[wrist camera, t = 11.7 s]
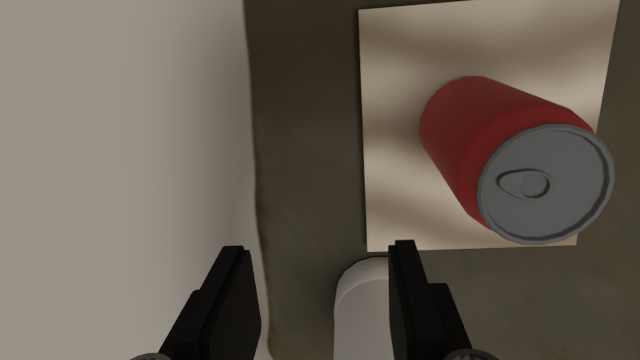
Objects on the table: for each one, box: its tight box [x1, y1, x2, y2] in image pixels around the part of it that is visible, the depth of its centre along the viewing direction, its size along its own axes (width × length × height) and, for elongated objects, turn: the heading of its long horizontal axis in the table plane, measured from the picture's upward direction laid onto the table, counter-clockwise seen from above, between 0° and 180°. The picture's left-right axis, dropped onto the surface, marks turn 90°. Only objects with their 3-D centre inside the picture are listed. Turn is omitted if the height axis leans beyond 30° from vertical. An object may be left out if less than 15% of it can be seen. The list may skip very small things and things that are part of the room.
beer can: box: [420, 76, 615, 245], centre depth 22 cm, size 7×7×12 cm
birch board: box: [358, 0, 620, 252], centre depth 29 cm, size 18×16×1 cm
